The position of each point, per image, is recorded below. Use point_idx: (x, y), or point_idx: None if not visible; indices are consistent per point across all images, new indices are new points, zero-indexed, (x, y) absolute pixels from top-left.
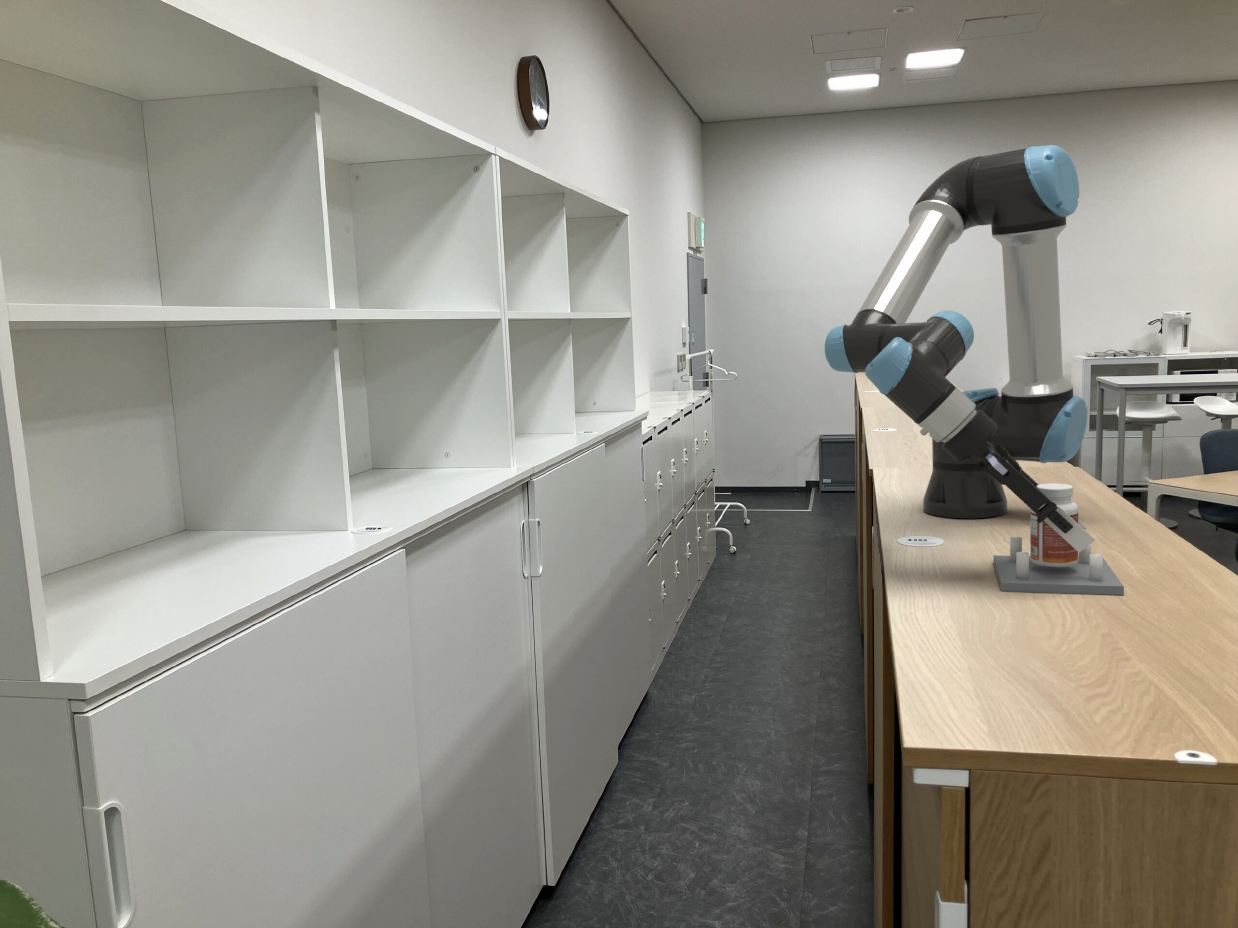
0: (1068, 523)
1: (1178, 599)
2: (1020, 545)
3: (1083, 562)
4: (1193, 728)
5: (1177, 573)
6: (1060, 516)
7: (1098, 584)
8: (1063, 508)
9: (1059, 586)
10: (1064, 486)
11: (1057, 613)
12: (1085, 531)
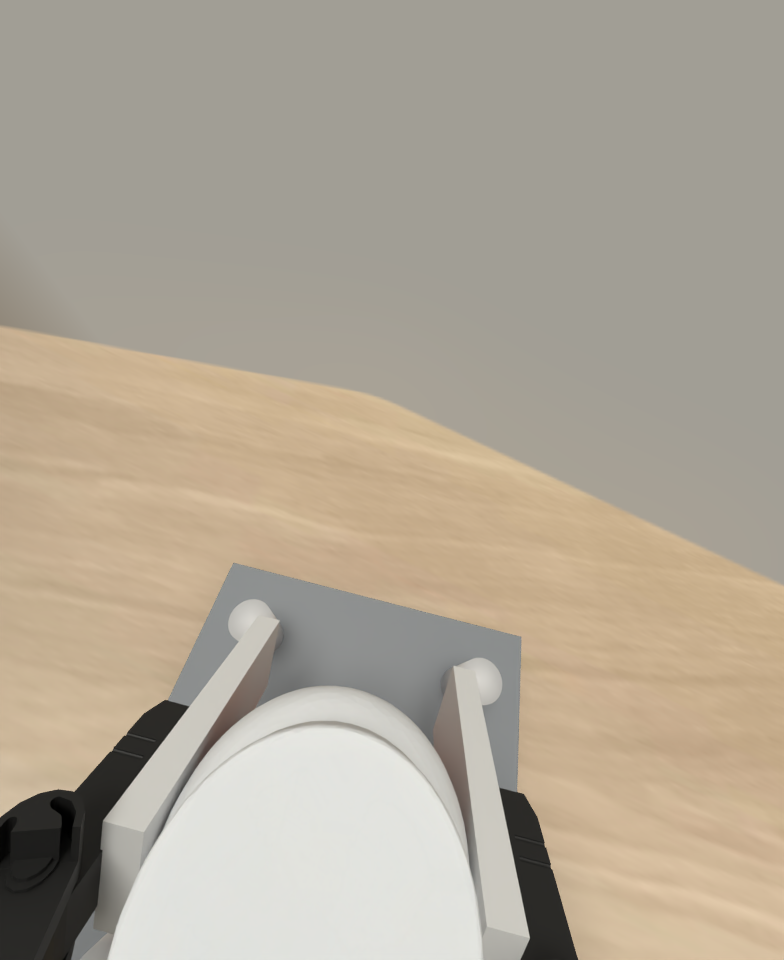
0: (539, 835)
1: (532, 541)
2: None
3: (279, 645)
4: None
5: (344, 455)
6: (564, 917)
7: (508, 701)
8: (466, 852)
9: None
10: (351, 824)
11: (726, 943)
12: (480, 710)
